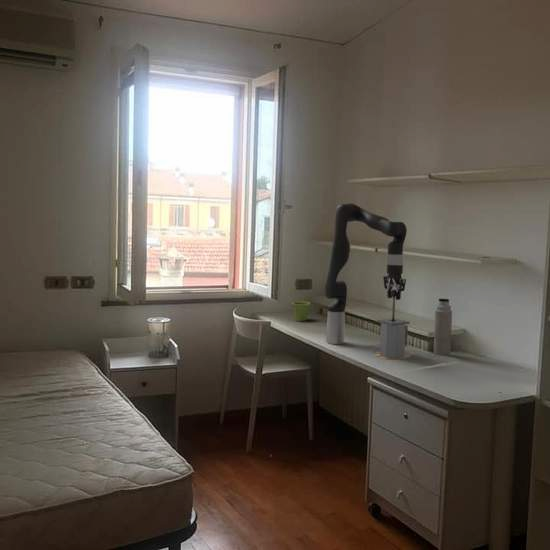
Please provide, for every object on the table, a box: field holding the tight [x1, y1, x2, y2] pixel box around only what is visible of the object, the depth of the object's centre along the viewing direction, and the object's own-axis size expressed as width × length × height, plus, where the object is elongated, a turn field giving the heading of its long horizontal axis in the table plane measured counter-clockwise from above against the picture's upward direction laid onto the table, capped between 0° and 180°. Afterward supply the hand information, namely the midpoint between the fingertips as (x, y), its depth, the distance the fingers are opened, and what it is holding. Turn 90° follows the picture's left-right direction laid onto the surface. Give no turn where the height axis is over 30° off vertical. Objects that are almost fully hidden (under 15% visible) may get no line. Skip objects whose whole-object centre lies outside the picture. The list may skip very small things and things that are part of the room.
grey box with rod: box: [376, 317, 411, 358], centre depth 300 cm, size 11×14×17 cm
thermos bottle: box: [433, 298, 453, 357], centre depth 304 cm, size 8×8×28 cm
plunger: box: [391, 289, 396, 321], centre depth 297 cm, size 8×8×19 cm
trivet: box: [373, 351, 412, 361], centre depth 300 cm, size 18×18×1 cm
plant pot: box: [291, 301, 310, 322], centre depth 397 cm, size 12×12×11 cm
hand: (393, 298), depth 297 cm, fingers open, 5 cm apart
